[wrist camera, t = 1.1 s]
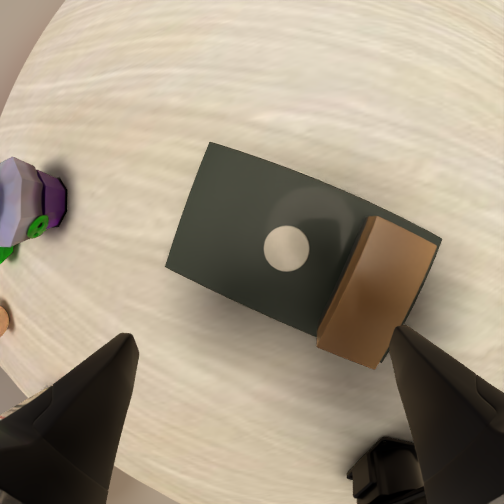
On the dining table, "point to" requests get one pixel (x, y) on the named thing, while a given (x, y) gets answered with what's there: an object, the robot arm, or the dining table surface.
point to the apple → (5, 253)
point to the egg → (3, 321)
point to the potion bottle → (28, 202)
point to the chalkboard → (260, 225)
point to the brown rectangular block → (373, 291)
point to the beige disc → (286, 248)
